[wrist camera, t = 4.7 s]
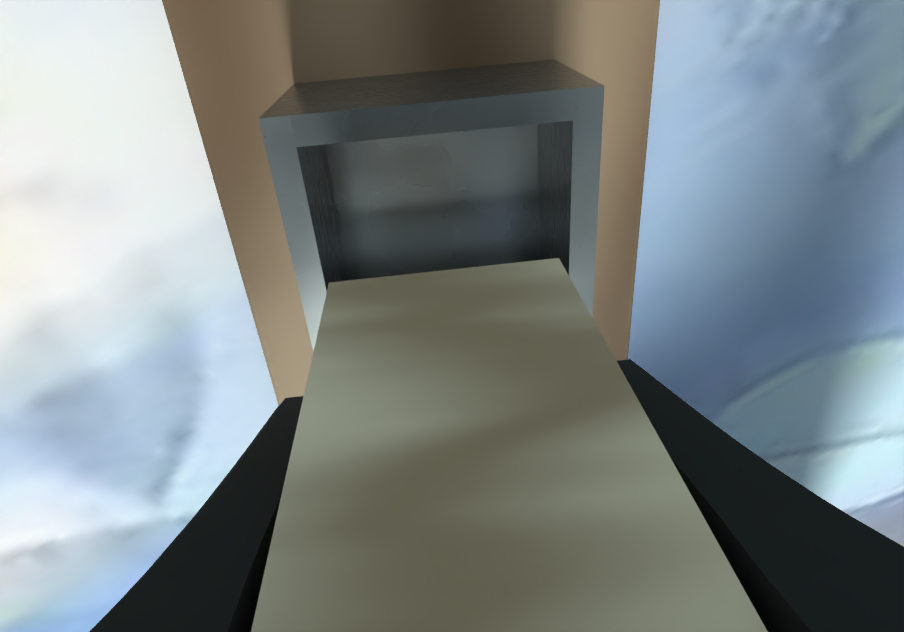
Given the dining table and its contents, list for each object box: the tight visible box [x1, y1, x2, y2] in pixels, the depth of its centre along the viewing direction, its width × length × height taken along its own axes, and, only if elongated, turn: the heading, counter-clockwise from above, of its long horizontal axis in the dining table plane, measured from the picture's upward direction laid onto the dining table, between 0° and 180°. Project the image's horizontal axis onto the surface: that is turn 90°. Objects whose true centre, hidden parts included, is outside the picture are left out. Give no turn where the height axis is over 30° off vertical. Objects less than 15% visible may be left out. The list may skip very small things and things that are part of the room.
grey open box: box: [258, 59, 604, 352], centre depth 15 cm, size 7×7×4 cm
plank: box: [162, 0, 660, 405], centre depth 19 cm, size 12×22×1 cm, turn 4°
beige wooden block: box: [251, 258, 768, 632], centre depth 8 cm, size 4×4×8 cm
